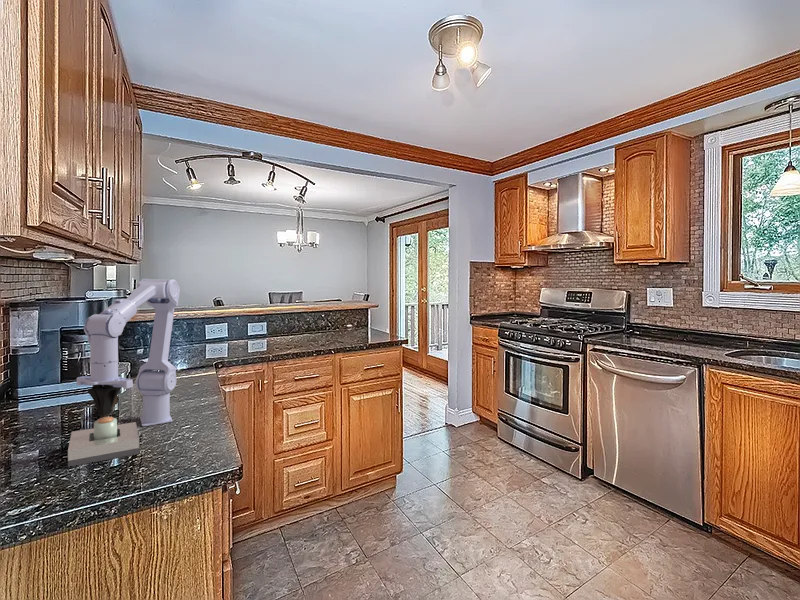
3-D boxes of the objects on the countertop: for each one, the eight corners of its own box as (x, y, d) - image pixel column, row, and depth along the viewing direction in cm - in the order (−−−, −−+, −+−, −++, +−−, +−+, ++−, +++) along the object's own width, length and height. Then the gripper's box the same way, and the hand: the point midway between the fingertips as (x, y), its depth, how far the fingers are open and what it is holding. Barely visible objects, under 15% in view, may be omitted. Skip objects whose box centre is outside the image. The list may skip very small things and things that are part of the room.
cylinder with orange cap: (107, 439, 108) (107, 414, 108) (121, 442, 107) (121, 417, 106) (89, 446, 104) (89, 420, 103) (103, 449, 102) (103, 423, 102)
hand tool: (104, 405, 142) (104, 392, 142) (118, 404, 144) (118, 391, 144) (91, 423, 125) (91, 408, 125) (107, 421, 127) (107, 406, 127)
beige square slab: (71, 446, 107) (71, 431, 107) (135, 436, 115) (135, 422, 115) (68, 467, 95) (67, 450, 95) (139, 453, 104) (139, 438, 103)
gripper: (64, 362, 101) (65, 417, 102) (116, 366, 99) (116, 421, 100) (90, 357, 108) (91, 408, 109) (139, 360, 106) (139, 412, 107)
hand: (104, 414), depth 105 cm, fingers closed
